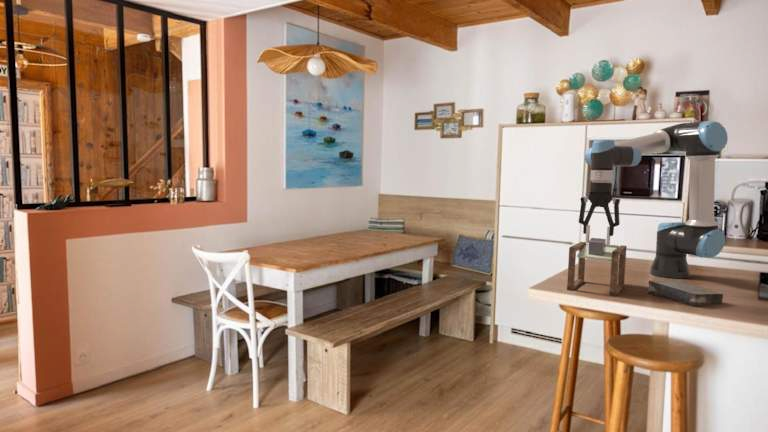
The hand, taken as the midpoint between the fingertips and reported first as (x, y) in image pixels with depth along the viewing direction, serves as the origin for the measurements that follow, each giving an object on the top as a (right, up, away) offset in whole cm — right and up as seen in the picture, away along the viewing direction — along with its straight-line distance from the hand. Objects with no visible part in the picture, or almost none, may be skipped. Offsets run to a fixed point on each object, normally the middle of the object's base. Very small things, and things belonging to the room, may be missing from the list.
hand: (597, 243), depth 197 cm
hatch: (+3, -8, +6) cm, 10 cm away
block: (+27, -20, -10) cm, 35 cm away
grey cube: (0, -4, 0) cm, 4 cm away
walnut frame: (+1, -17, +3) cm, 18 cm away
